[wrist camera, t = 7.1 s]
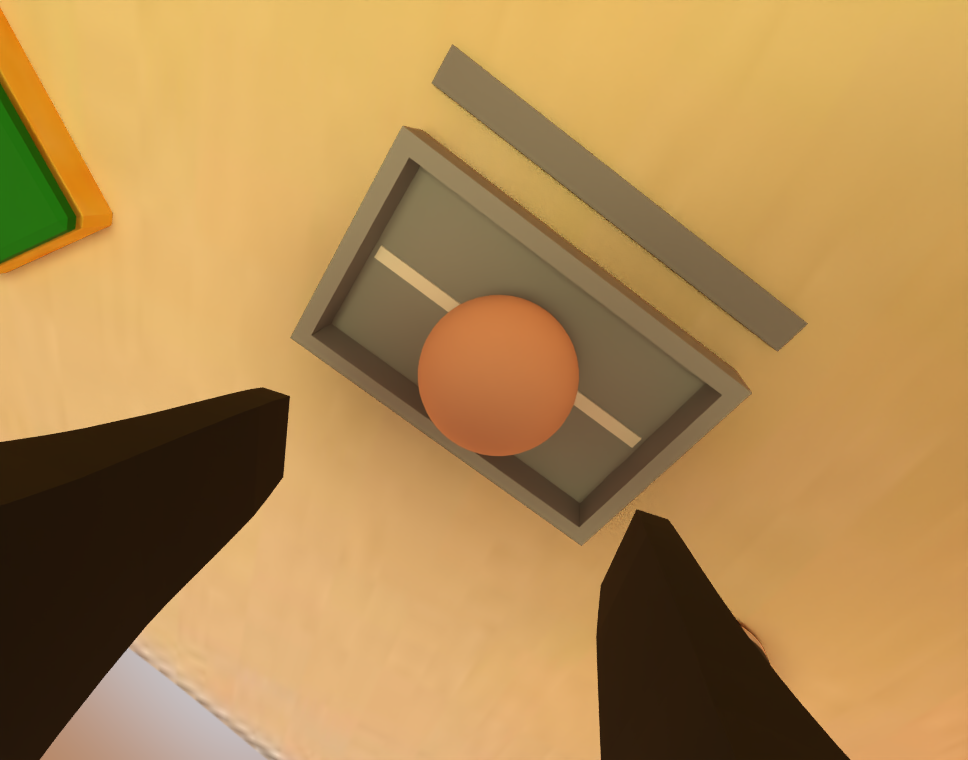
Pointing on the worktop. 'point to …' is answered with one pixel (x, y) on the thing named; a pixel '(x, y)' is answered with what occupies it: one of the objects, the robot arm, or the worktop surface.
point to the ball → (498, 375)
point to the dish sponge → (39, 168)
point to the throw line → (615, 199)
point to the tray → (531, 276)
